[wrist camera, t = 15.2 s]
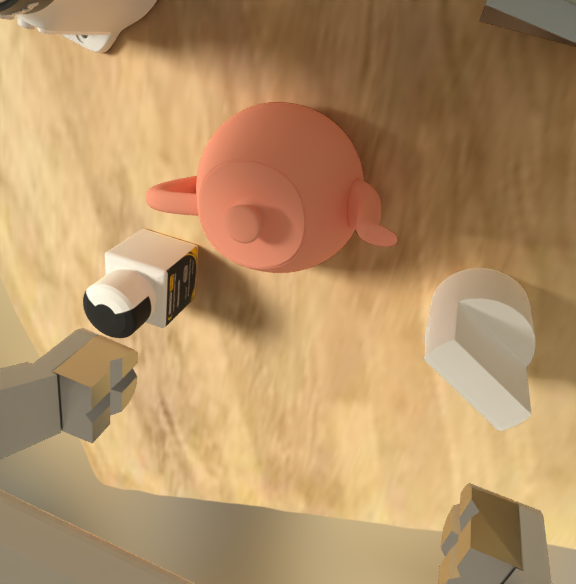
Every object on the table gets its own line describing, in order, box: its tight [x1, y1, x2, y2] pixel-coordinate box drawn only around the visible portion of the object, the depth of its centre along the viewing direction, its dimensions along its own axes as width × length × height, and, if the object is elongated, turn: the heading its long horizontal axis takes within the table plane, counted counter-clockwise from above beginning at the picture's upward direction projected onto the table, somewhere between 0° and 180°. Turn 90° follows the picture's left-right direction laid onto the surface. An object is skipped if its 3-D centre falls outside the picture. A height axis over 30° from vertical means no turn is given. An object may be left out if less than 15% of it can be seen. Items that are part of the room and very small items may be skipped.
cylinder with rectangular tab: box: [424, 268, 535, 431], centre depth 44 cm, size 9×9×12 cm
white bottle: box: [83, 229, 198, 338], centre depth 53 cm, size 7×7×12 cm
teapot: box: [146, 102, 398, 273], centre depth 44 cm, size 22×15×12 cm
